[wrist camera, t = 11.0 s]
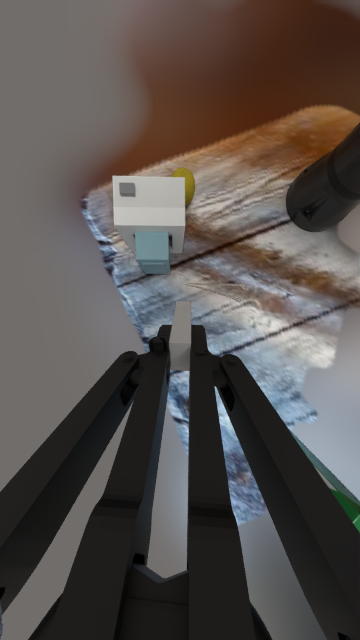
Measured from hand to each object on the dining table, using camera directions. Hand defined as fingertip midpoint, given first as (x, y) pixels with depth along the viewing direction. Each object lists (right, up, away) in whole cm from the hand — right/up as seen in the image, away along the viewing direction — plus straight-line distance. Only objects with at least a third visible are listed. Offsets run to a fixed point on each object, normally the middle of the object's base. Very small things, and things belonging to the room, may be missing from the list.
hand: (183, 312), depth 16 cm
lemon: (0, +28, +21) cm, 36 cm away
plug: (-6, +15, +22) cm, 27 cm away
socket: (-6, +20, +21) cm, 30 cm away
